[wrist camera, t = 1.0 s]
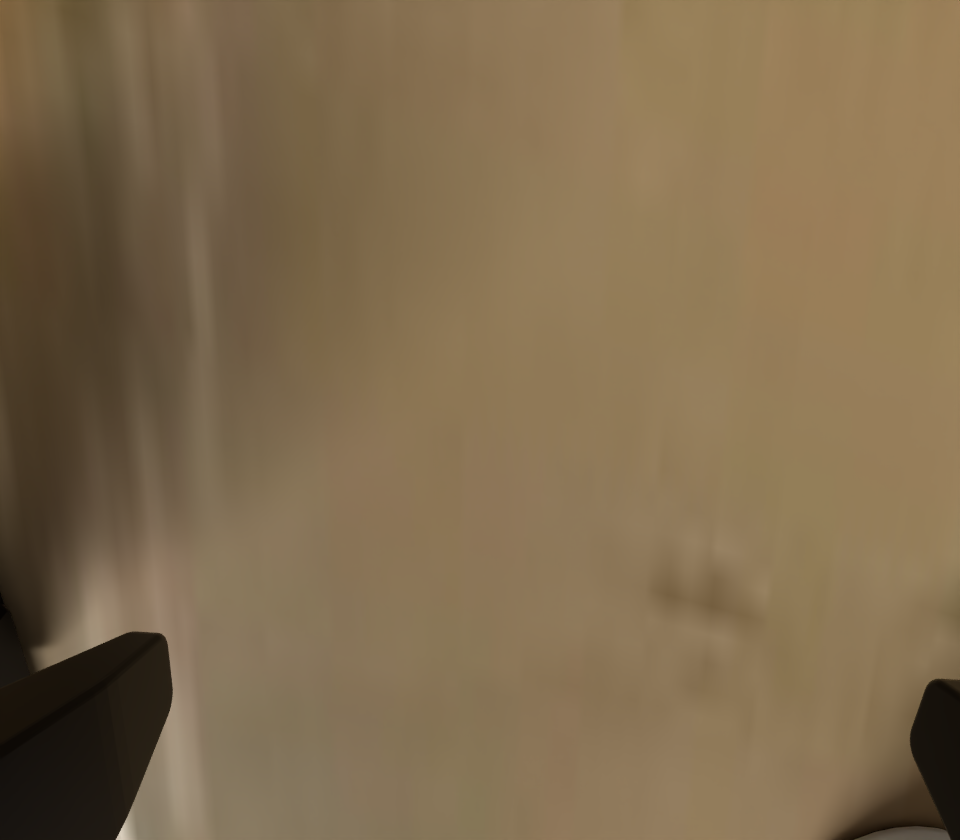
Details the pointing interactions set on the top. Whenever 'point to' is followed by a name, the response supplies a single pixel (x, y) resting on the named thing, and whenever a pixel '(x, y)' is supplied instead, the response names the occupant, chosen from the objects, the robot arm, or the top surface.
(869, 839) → the milk bottle
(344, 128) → the top surface
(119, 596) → the top surface
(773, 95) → the top surface
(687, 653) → the top surface
